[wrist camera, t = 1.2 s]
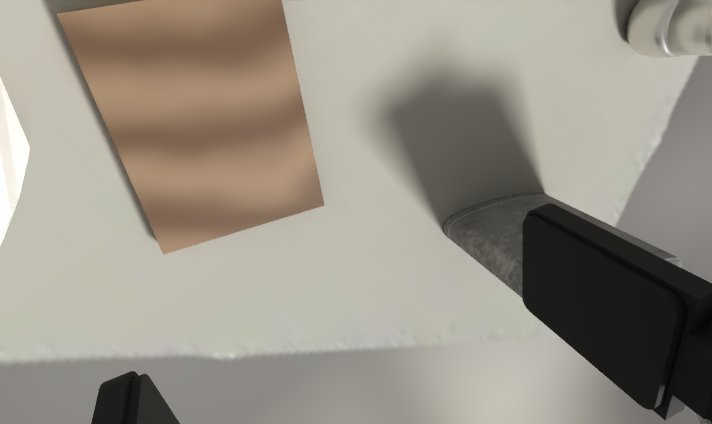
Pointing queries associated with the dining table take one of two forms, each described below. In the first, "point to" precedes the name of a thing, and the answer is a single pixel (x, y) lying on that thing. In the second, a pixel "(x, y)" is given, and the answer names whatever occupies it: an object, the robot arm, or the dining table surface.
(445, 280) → the dining table surface
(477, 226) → the flask
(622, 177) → the dining table surface
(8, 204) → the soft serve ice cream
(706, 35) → the plastic bottle
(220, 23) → the serving board
